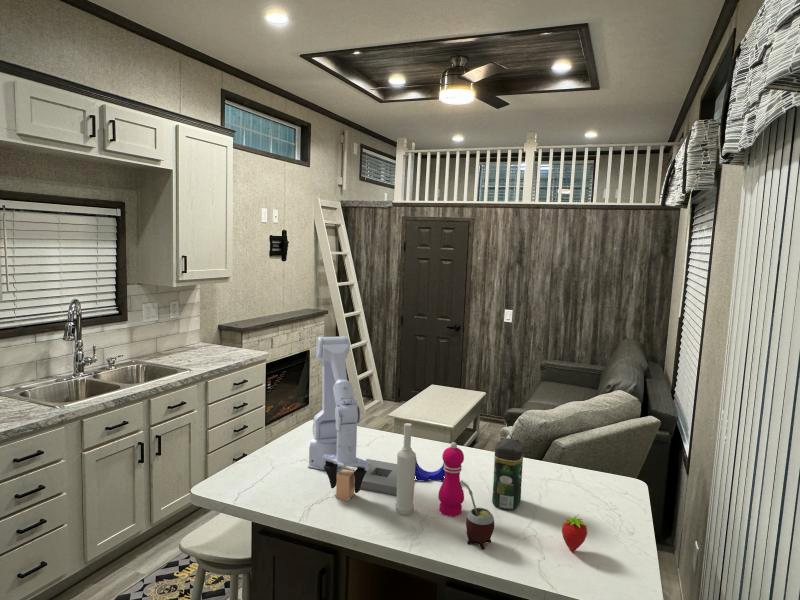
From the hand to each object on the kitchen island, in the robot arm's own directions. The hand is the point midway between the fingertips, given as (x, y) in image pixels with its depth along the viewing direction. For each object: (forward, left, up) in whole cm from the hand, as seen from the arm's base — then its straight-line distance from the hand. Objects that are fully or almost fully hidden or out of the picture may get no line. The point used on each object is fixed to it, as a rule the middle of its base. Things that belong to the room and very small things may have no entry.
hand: (345, 489), depth 159 cm
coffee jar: (+45, +14, -2) cm, 47 cm away
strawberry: (+64, -5, -2) cm, 64 cm away
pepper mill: (+31, +3, -2) cm, 31 cm away
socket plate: (+6, +14, -2) cm, 15 cm away
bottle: (+19, -2, -2) cm, 19 cm away
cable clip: (+20, +21, -2) cm, 29 cm away
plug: (0, 0, -2) cm, 2 cm away
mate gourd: (+41, -10, -2) cm, 42 cm away
